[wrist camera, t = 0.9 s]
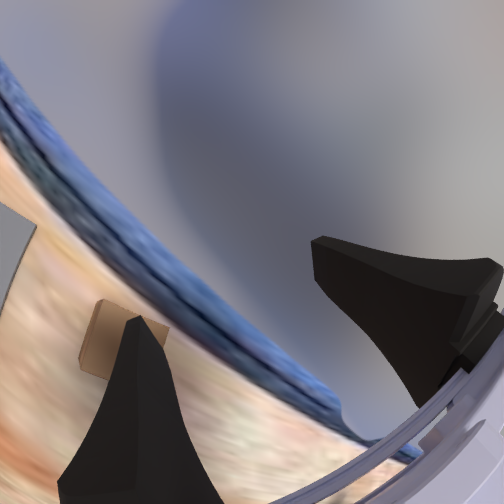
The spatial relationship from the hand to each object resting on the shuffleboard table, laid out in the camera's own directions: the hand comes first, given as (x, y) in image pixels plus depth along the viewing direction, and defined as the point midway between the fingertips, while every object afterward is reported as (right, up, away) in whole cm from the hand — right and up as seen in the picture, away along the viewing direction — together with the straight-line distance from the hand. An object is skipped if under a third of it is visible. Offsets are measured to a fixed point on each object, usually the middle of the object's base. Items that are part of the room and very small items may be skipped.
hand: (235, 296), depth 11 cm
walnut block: (-9, -5, +7) cm, 13 cm away
